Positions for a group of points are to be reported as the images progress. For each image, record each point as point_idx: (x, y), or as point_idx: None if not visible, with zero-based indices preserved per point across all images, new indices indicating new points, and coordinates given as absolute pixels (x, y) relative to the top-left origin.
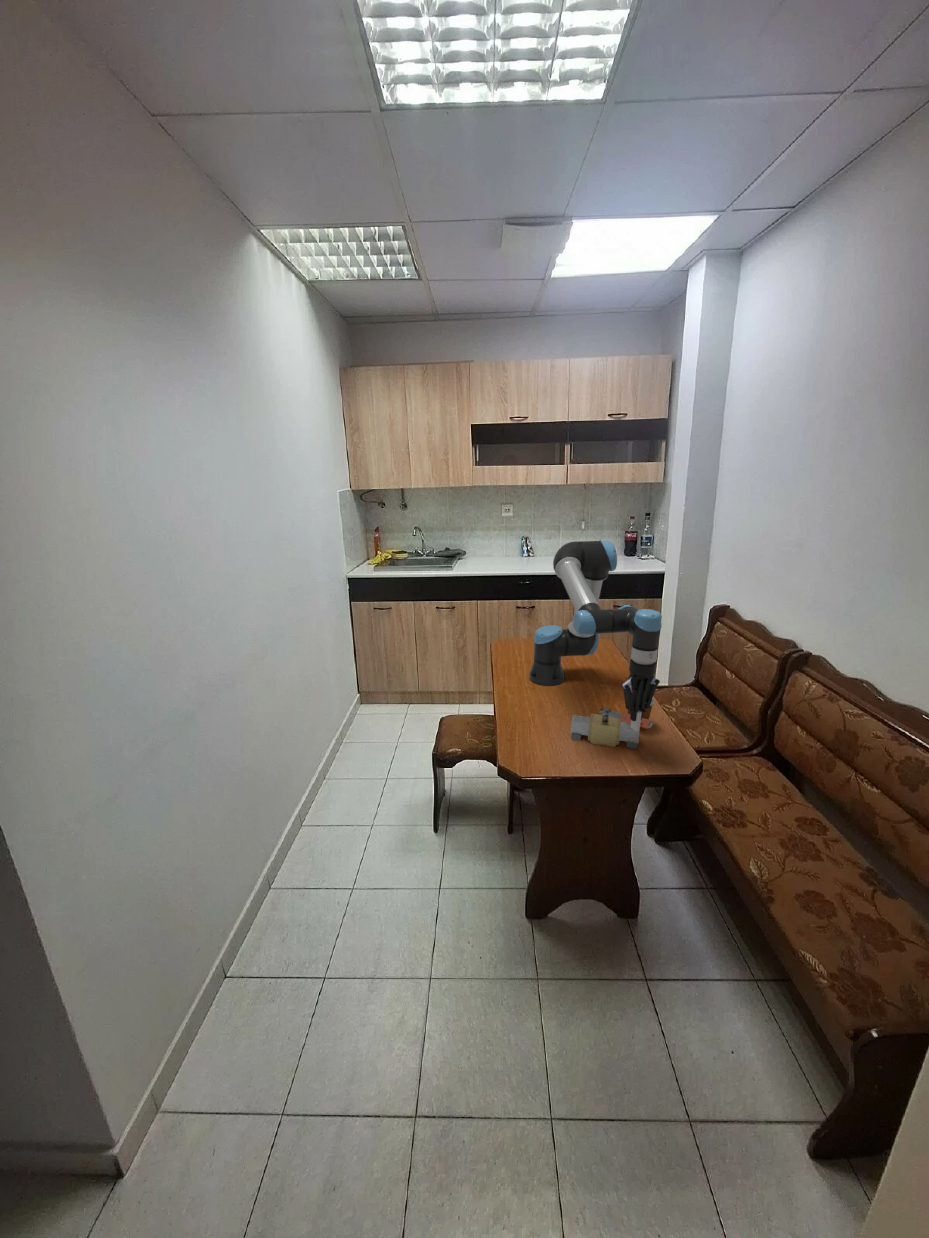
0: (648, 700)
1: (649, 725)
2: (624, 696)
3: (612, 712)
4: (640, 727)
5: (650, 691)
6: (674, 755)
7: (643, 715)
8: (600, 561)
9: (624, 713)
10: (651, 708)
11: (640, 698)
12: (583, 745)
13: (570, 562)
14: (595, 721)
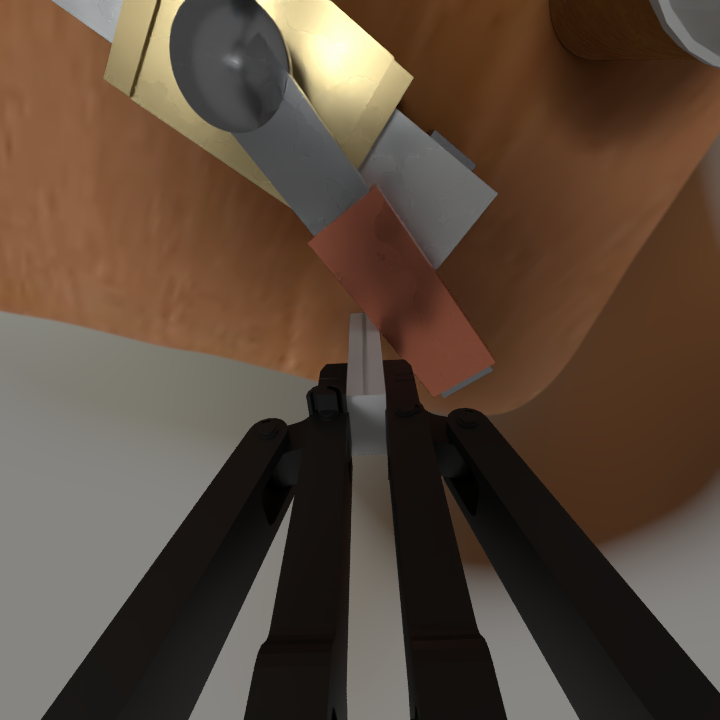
0: (477, 538)
1: (441, 393)
2: (160, 560)
3: (279, 133)
4: (586, 55)
5: (550, 646)
6: (530, 333)
7: (649, 55)
8: None
9: (372, 204)
10: None
11: (396, 539)
12: (152, 118)
13: None
14: (168, 71)
